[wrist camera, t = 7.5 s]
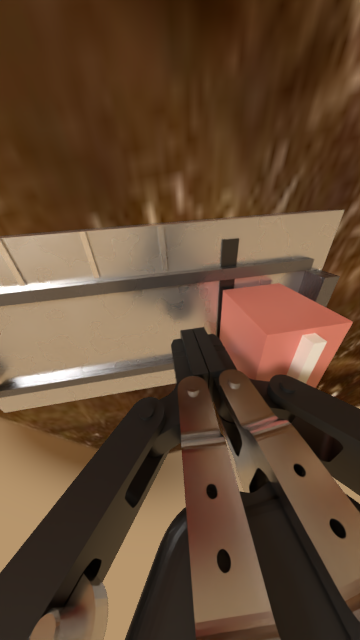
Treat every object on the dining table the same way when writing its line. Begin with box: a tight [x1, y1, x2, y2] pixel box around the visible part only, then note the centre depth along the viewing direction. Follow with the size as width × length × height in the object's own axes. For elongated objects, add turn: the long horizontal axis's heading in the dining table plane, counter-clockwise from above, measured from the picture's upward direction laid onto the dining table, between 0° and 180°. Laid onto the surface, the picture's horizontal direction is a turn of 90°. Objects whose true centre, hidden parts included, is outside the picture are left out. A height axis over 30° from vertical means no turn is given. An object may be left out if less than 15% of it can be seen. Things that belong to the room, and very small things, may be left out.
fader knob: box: [220, 283, 353, 388], centre depth 10 cm, size 4×5×6 cm
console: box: [0, 210, 344, 413], centre depth 13 cm, size 26×13×4 cm, turn 94°
